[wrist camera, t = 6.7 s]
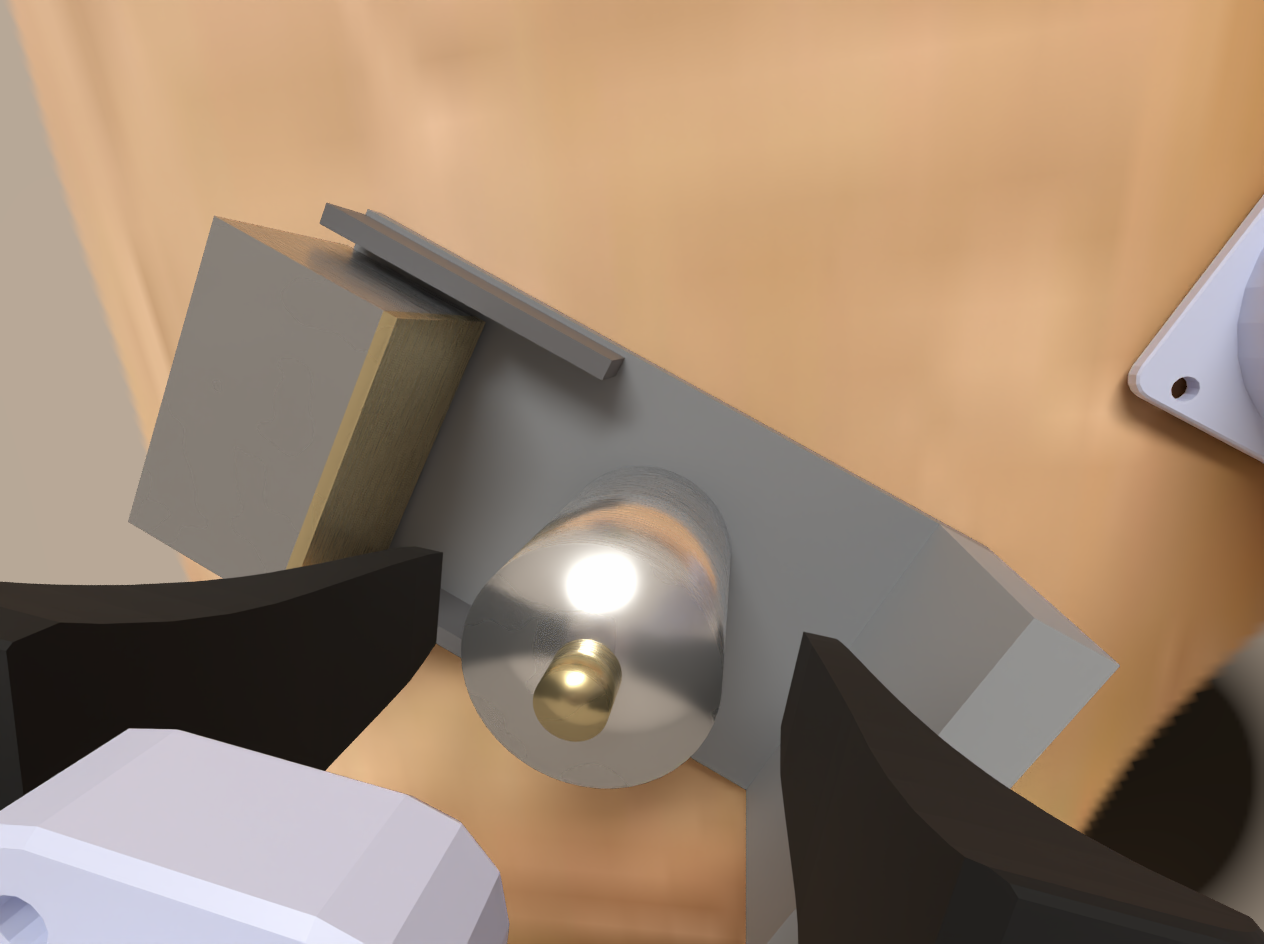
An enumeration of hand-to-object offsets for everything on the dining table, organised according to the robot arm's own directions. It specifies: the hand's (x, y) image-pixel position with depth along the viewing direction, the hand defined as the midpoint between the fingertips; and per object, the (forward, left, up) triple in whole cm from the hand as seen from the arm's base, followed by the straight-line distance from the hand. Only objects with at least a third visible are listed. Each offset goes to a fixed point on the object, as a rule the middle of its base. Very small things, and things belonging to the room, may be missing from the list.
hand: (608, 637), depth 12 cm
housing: (0, 0, -4) cm, 4 cm away
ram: (+8, 0, -5) cm, 10 cm away
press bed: (+2, 0, -5) cm, 5 cm away
